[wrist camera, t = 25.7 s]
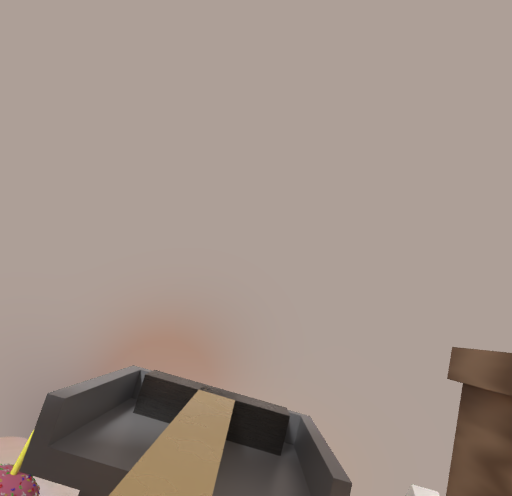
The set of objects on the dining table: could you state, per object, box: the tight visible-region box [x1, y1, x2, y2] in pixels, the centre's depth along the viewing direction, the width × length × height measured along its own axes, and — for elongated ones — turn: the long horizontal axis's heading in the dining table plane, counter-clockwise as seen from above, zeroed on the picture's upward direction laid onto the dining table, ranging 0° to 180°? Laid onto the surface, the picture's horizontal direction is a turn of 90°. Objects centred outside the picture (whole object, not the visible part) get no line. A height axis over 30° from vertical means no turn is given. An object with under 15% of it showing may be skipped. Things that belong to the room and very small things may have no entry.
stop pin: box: [109, 370, 290, 496], centre depth 20 cm, size 24×12×3 cm, turn 0°
